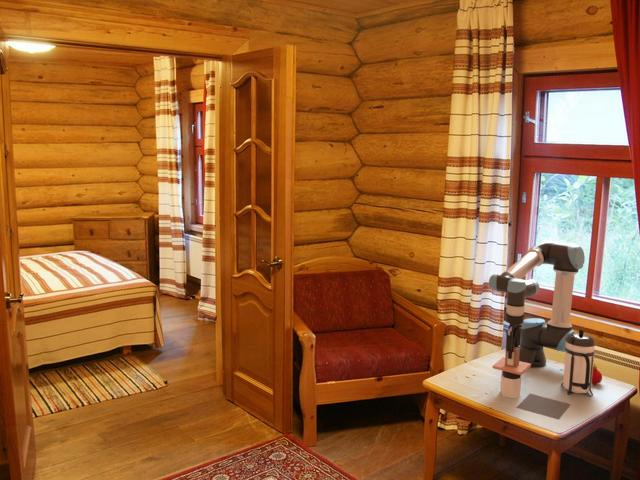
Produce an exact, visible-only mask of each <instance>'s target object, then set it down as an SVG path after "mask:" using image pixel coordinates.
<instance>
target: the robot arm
mask: <svg viewBox="0 0 640 480" xmlns="http://www.w3.org/2000/svg"><path fill="white" fill-rule="evenodd" d="M544 264H545V265H552V266H553V268H552V269H553V271H554V272H555V280H554V289H553V299H552V307H551V308H552V309H551V317H550V319H549V320H548V321H547V323H546V320H545V319H543V318H538V317H532V318H530V317H529V318H525V319H524V316H525V315H524V314H525V302H526V301H525V300H526V299H528V298H531V297H534V296H536V295H537V294H538V293H539V292H540V285H539V282H538V281H536V280H535V279H532V278H531V279H529V278H528V279H522V278H524V277H526V275H528V274H529V273H530V272H531V271H533V269H535V268H537V267H540V266H542V265H544ZM584 264H585V252H584V249H583V248H582V246H581V245H578V244H575V243H567V242H558V241H552V240H550V241H544V242H541V243H538V244H535V245H533V246H532V247H531V248H529V249H528V250H527V251H526V252H525V255H523V256H522V257H520V259H519V260H517V261H516V262H515V263H513V264H512V265H511V266H510V267H508V268H507V269H506V270H505V271H503V272H502V273H501V274H494V273H493V274H492V275H491V276H490V277H489V280H488V287H489V288H490V289H491V290H492V291H496V292H500V293H504V294H505V293H506V294H507V295H506V305H505V308H506V314H505V322H506V323H508V324H509V325H508V326H507V327H508V328H507V330H505V335H506V338H505V339H506V340H505V341H506V342H505V352H506V351H508V355H507V365H511V366H513V364H514V352H513V350H514V347H518V348H520V355H519V361H521V362H526V363H530V364H531V367H530V368H541V367H545V366H546V365H547V358H546V354H545V350H544V348H546V349H550V350H554V351H556V352H561V353H565V352H566V351H565V346H566V337H567V336H568V335H569V334H571V333H577V332H576V331H575V330H574V329H573V324H572V323H571V322H570V320H571V311H572V304H573V303H572V301H573V293H574V281H575V275H577V274H579V273H578V272H579V270H581V269H582V268H584Z"/></svg>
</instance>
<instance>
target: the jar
mask: <svg viewBox="0 0 640 480" xmlns="http://www.w3.org/2000/svg"><path fill="white" fill-rule="evenodd" d="M501 371H502V370H501ZM500 377H501V380H500V394H501V396H502V397H505V398H510V399H516V398H520V397H521V389H522V388H521V386H522V378H521V377H522V375H518V374H514V373H510V372H506V371H502V372H501V376H500Z"/></svg>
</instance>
